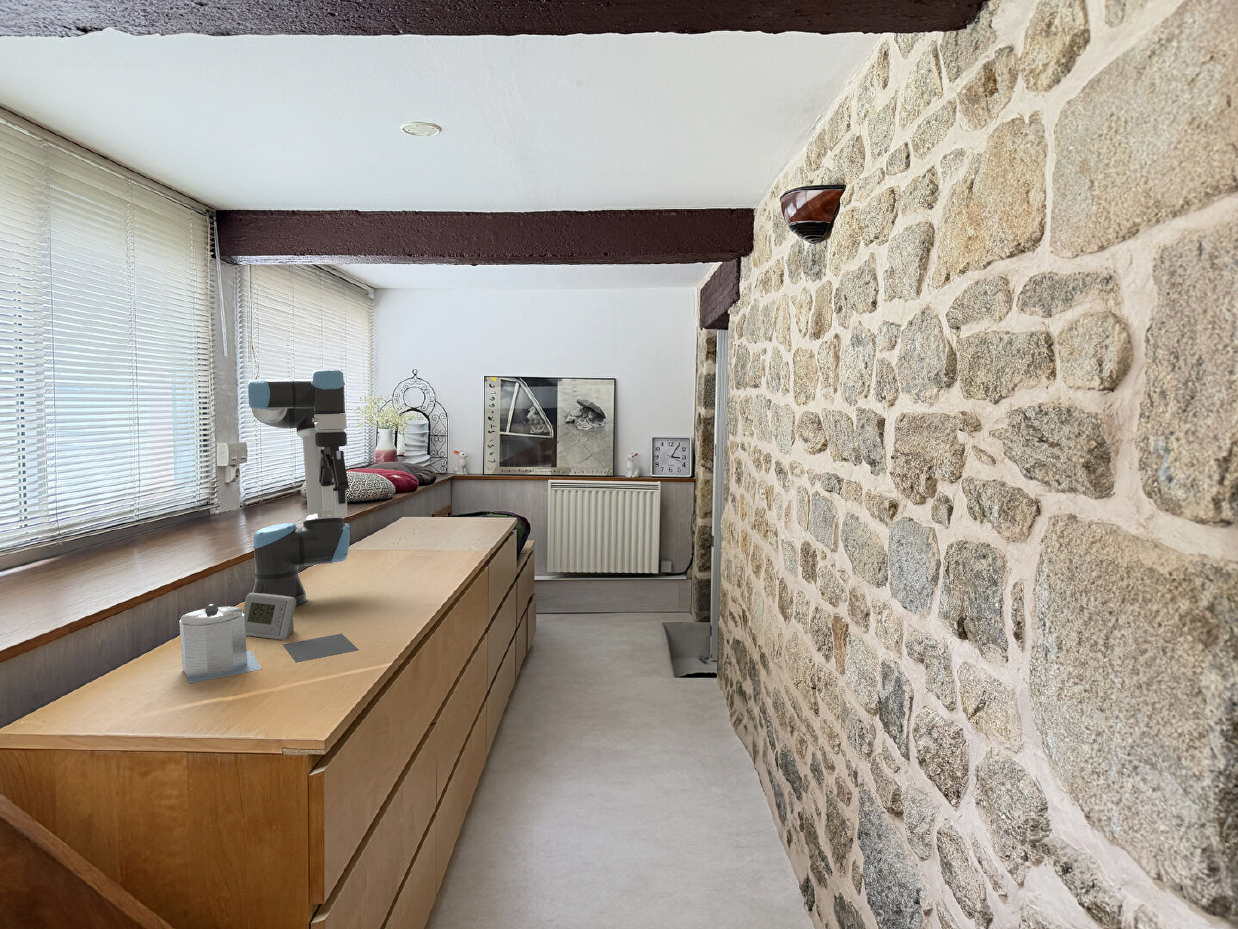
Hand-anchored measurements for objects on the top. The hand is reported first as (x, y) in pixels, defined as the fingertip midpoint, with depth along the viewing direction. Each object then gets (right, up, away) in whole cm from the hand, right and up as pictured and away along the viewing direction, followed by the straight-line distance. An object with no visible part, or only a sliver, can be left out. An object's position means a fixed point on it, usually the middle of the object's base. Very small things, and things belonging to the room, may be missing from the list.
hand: (334, 513), depth 192 cm
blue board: (-16, -33, -24) cm, 44 cm away
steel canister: (-17, -33, -25) cm, 45 cm away
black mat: (+1, -32, -13) cm, 34 cm away
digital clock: (-16, -32, -2) cm, 36 cm away
